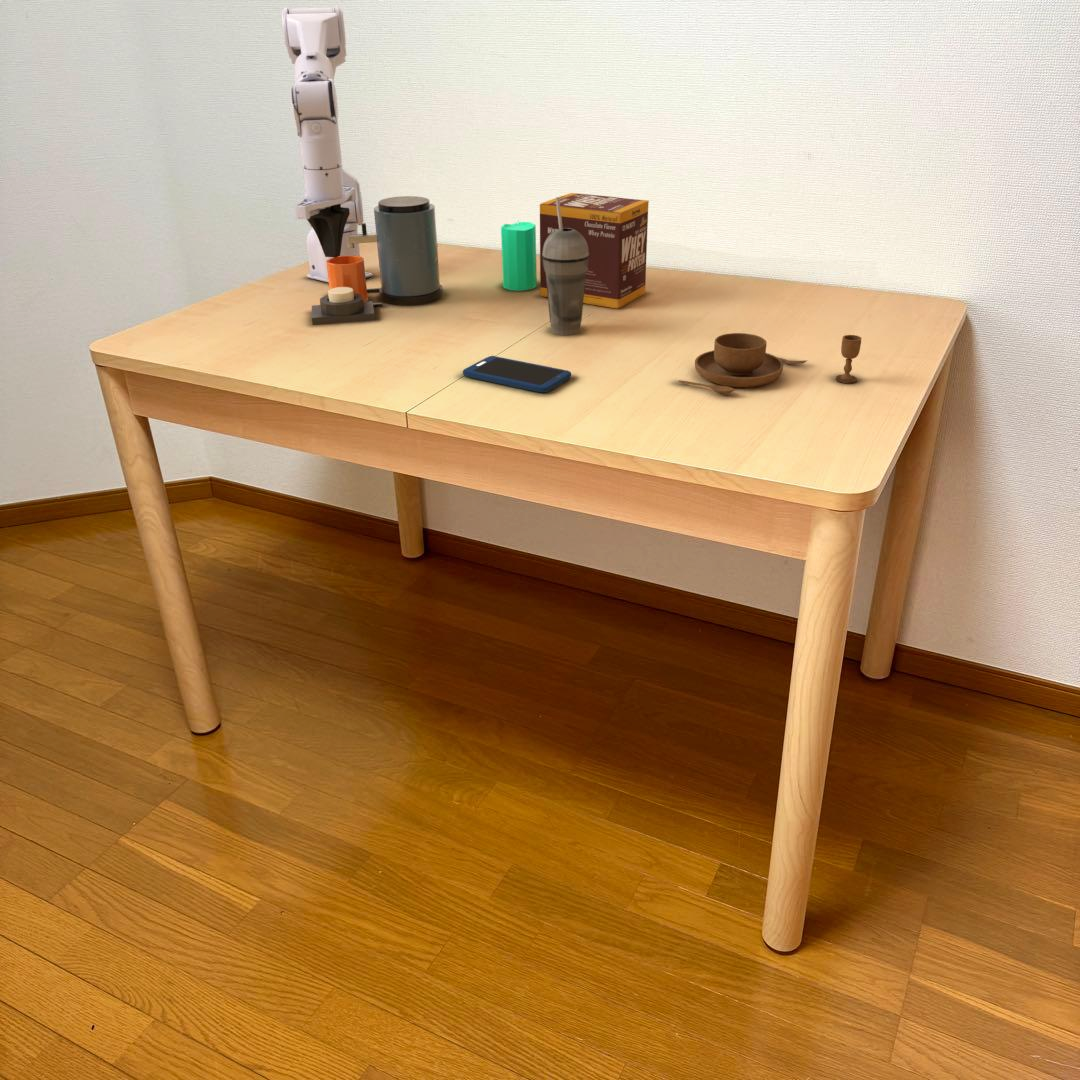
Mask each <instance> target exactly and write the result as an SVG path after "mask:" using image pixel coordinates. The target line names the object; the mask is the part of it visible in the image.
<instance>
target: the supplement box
mask: <svg viewBox="0 0 1080 1080" xmlns="http://www.w3.org/2000/svg"><path fill="white" fill-rule="evenodd" d="M558 197H559V202H560V210H561V218H562V227H563V228H572V229H574V230H576V231H578V232H579V233H580V234H581V235H582V236H583V237H584V239H585V240H586V242H587V245H588V252H589V255H590V258H588V267H587V271H586V276H585V287H584V299H583V304H586V305H592V306H599V307H605V308H611V309H620V308H622V307H623V306H625V305H627V304H629V303H630V302H632V301H634V300H636V299H638V298H640V297H641V296H643V295H645V294H646V281H647V280H646V279H647V278H646V277H647V252H648V227H649V226H648V225H649V203H650V200H646V199H637V198H636V199H635V198H628V197H627V198H625V197H617V196H610V195H598V194H587V193H578V192H569V193H566V194H563V195H560V196H558ZM557 229H559V222H558V214H557V205H556V197H555V198H552V199H549V200H546V201H544V202H541V203H539V282H540V283H539V296H541V297H544V298H548V295H547V285H546V274H545V271H544V266H543V259H542V258H541V257H542V253H543V247H544V243H545V241H546V239H547V238H548V236H549V235H550V234H551V233H552V232H554V231H555V230H557Z"/></svg>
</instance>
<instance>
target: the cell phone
mask: <svg viewBox="0 0 1080 1080" xmlns="http://www.w3.org/2000/svg"><path fill="white" fill-rule="evenodd" d="M462 375H463V377H466V378H471V379H476V380H481V381H486V382H489V383H494V384H500V385H504V386H509V387H514V388H517V389H523V390H527V391H531V392H538V393H541V394H542V393H548V392H550V391H552V390H554V389H555V388H556V387H558V386H560V385H561V384H563V383H565V382H566V381H568V380H570V379H571V377H572V371H569V370H568V369H562V368H557V367H552V366H547V365H541V364H536V363H532V362H526V361H521V360H515V359H513V358H512V359H511V358H505V357H500V356H496V355H489V356H487V357H485V358H483V359H481V360H479V361H477V362H475V363H474V364H471V365H469V366H467V367H466V368H464V369H463V370H462Z"/></svg>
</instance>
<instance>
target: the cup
mask: <svg viewBox="0 0 1080 1080" xmlns="http://www.w3.org/2000/svg"><path fill="white" fill-rule="evenodd" d="M326 264H327V272H328V280H329V282H328V287H329V290H330V289H332V288H337V287H349V288H352V289H353V293H357V294H360V295H362V296H363V302H369V297H368V293H367V289H368V287H367V286H368V285H367V278H366V276H365V272H366V267H365V259H364V257H362V256H361V255H360V256H353V255H346V256H338V257H336V258H333V257H332V258H329V259H328V260H326Z"/></svg>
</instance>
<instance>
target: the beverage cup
mask: <svg viewBox="0 0 1080 1080" xmlns="http://www.w3.org/2000/svg"><path fill="white" fill-rule="evenodd" d="M559 197H560V196H557V197H556V196H555V198H556V205H557V214H558V222H559V229H557V230H555V231H554V232H552V233H551V234H550V235H549V236H548V238H547V239H546V241H545V243H544V247H543V253H542V257H541V258H542V259H543V266H544V271H545V274H546V285H547V295H548V297H547V303H548V314H549V323H550V329H551V331H550V332H551V333H552V334H554V335H558V336H574V335H577V334H579V333H580V332H581V324H582V320H583V318H582V317H583V311H584V309H583V308H584V303H583V299H584V287H585V276H586V271H587V267H588V258H590V255H589V252H588V245H587V242H586V240H585V239H584V237H583V236H582V235H581V234H580V233H579V232H578V231H576V230H574V229H572V228H563V227H562V218H561V210H560V202H559Z"/></svg>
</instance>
